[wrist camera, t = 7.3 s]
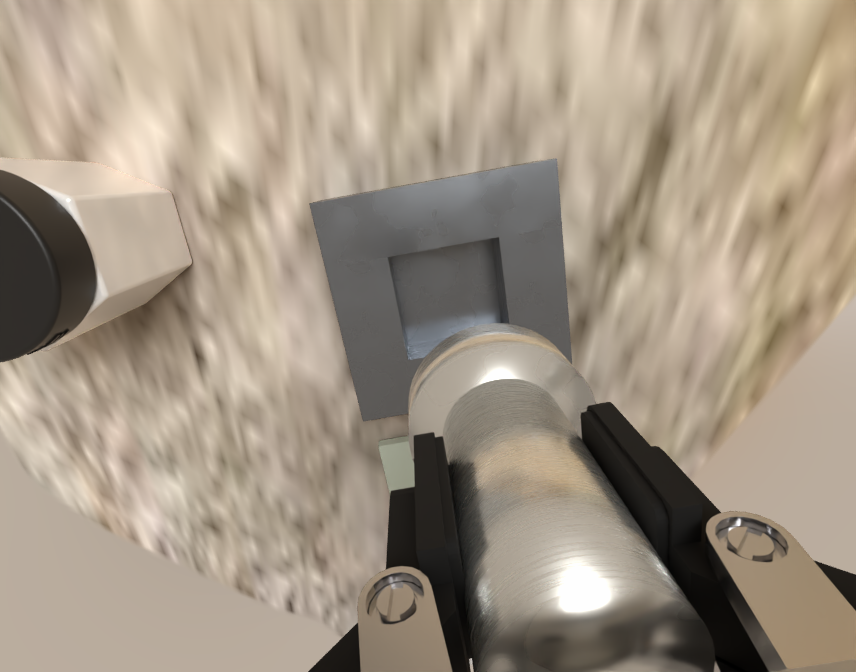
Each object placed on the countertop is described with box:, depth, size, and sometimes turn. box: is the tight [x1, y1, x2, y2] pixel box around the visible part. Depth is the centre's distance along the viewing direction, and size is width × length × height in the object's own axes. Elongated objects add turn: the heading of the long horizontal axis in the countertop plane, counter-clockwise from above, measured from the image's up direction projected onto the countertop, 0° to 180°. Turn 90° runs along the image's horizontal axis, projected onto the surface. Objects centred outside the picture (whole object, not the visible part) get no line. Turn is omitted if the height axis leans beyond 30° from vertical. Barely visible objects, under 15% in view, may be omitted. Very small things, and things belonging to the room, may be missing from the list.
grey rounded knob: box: [408, 323, 715, 672], centre depth 11 cm, size 6×6×9 cm
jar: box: [0, 158, 192, 362], centre depth 24 cm, size 9×8×12 cm
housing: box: [309, 159, 572, 421], centre depth 30 cm, size 14×14×4 cm
